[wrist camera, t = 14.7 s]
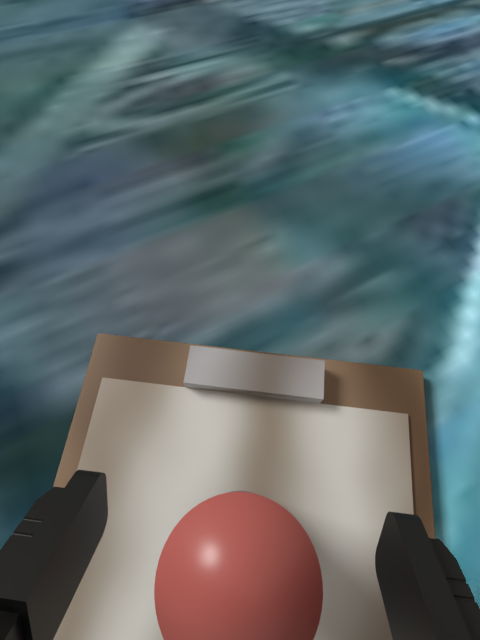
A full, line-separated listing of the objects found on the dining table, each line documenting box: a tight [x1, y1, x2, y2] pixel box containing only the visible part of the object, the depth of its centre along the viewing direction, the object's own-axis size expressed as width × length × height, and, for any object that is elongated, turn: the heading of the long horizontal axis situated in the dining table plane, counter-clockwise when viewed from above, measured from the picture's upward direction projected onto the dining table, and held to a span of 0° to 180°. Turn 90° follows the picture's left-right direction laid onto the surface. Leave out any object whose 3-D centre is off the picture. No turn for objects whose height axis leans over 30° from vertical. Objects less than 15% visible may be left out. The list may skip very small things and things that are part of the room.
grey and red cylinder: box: [154, 491, 323, 640], centre depth 13 cm, size 4×4×9 cm
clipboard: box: [53, 333, 435, 640], centre depth 17 cm, size 18×18×2 cm
